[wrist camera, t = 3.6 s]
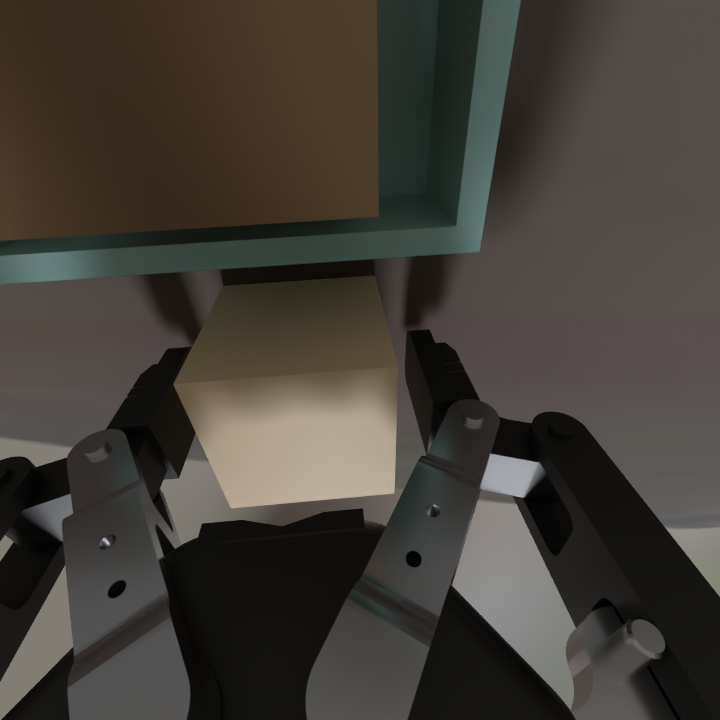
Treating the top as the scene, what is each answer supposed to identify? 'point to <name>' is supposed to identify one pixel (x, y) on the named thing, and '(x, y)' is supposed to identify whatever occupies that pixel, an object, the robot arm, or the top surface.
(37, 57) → the block
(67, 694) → the robot arm
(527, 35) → the top surface
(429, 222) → the tote
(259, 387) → the light box
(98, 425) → the top surface
